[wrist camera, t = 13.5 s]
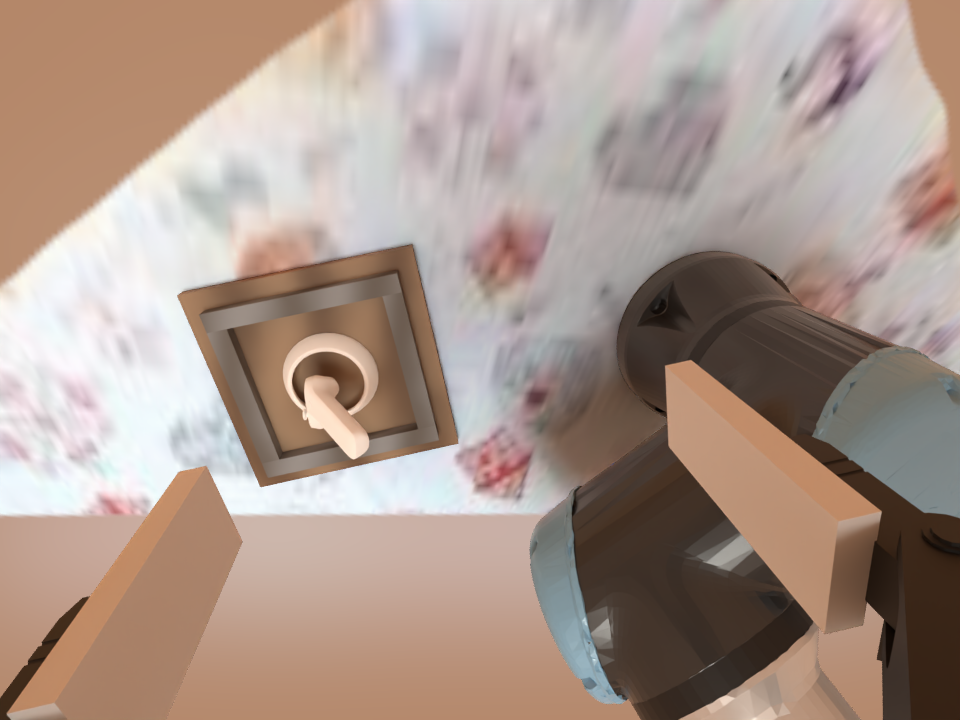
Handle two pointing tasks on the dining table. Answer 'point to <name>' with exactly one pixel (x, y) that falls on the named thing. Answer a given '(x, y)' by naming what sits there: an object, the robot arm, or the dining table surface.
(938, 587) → the robot arm
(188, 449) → the dining table surface
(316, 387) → the hook
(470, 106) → the dining table surface
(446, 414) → the picture frame
